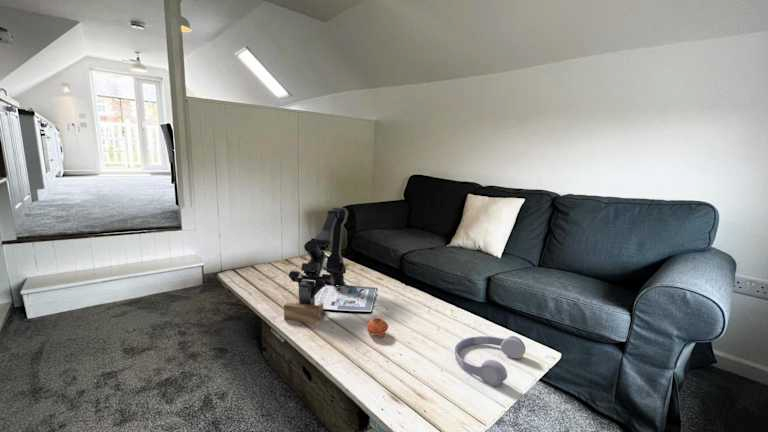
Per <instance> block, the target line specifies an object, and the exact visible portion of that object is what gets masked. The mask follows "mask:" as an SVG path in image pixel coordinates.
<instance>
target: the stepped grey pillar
mask: <svg viewBox="0 0 768 432" xmlns="http://www.w3.org/2000/svg"><path fill="white" fill-rule="evenodd" d="M314 286H315V281H314V280H303V281H302V282H300V283H299V286H298V297H299V299H298V302H299V304H307V305H316V304H315V303H316V298H315V296H316V295H315V296H314V297H313V298H311V295H312V292H313V289H314Z"/></svg>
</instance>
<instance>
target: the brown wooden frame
mask: <svg viewBox="0 0 768 432" xmlns="http://www.w3.org/2000/svg"><path fill="white" fill-rule="evenodd" d="M323 312H324V302H320V303H319V304H318V305H316V304H315V305H307V304H299V301H298V302H291V301H290V302H289V301H287V302H286V303H285V304H284V305H283V317H284V318H283V319H284V320H289V321H296V322H302V323H303V322H304V323H311V324H318V323H319V321H320V320H321V317H320V316H321V314H322V313H323Z"/></svg>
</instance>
